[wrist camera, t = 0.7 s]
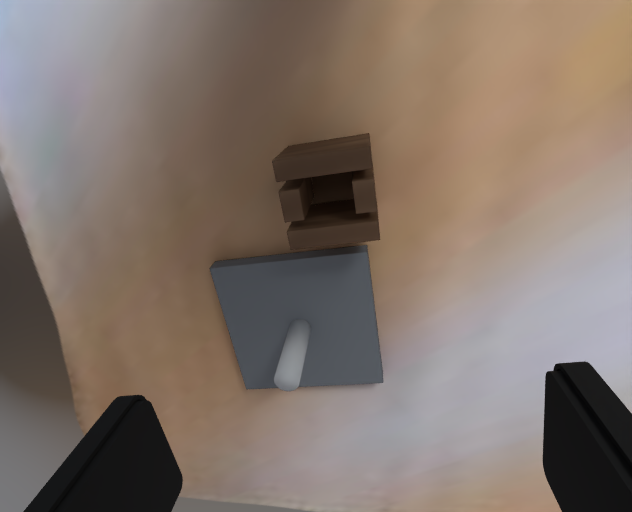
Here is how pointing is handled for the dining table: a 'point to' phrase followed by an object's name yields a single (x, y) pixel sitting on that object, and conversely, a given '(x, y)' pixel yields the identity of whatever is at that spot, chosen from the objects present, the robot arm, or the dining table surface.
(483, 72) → the dining table surface
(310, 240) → the wooden block stack
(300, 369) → the stand
